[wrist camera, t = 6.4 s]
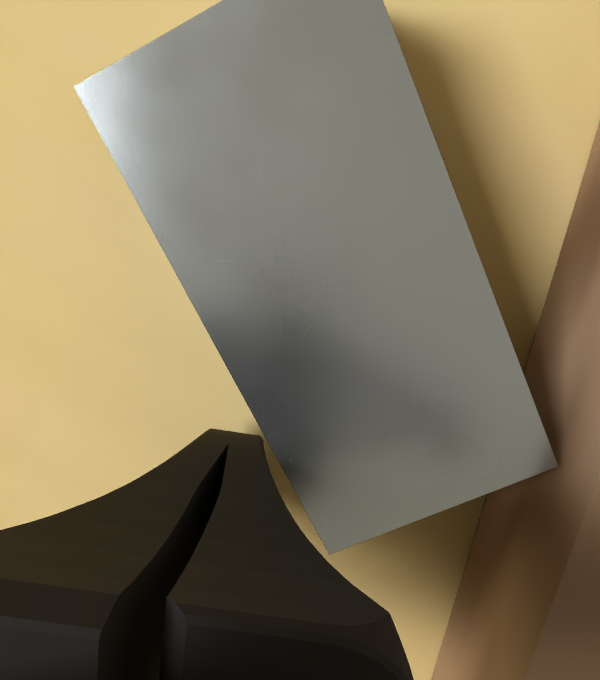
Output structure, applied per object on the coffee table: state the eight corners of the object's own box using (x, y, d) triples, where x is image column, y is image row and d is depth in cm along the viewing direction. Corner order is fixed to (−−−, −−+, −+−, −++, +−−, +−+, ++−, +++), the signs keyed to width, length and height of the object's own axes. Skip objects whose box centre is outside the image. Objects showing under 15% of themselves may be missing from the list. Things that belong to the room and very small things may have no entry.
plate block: (499, 405, 12) (558, 466, 9) (325, 477, 13) (329, 554, 10) (341, 8, 10) (354, -76, 7) (138, 120, 11) (73, 86, 8)
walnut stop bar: (499, 768, 15) (554, 928, 12) (408, 756, 15) (436, 913, 12) (754, 93, 10) (987, 32, 6) (615, 69, 10) (777, -5, 6)
